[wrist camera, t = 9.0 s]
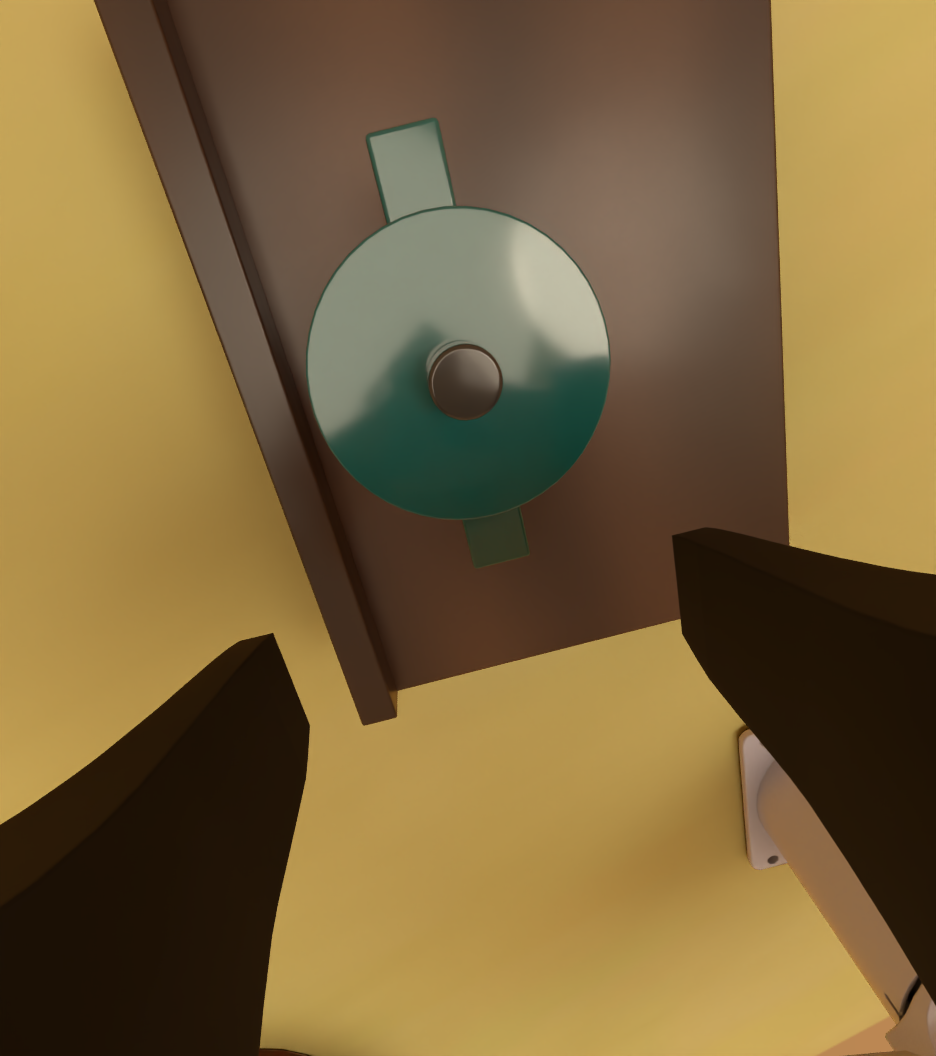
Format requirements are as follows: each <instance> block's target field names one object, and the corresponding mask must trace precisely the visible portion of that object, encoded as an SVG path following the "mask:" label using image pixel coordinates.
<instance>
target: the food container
mask: <svg viewBox="0 0 936 1056" xmlns="http://www.w3.org/2000/svg"><path fill="white" fill-rule="evenodd" d="M259 1056H307V1055H303V1054H298V1053H294V1052H289V1051H285V1050H262V1049H259Z"/></svg>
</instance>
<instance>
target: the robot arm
mask: <svg viewBox="0 0 936 1056" xmlns="http://www.w3.org/2000/svg"><path fill="white" fill-rule="evenodd" d="M672 542H673V552H674V561H675V570H676V580H677V589H678V599H679V608H680V617H681V627H682V634H683V636H684V638H685V639H686V641H687V643H688V645H689V646H690V648H691V650H692V652H693V653H694V655H695V657H696V658H697V660H698V662H699V663H700V665H701V666H702V668H703V670H704V671H705V673H706V675H707V676H708V678H709V679H710V680H711V682H712V683H713V684H714V685H715V687H716V688H717V689H718V691H719V692H720V693H721V694H722V695H723V697H724V698H725V699H726V700H727V702H728V703H729V704H730V705H731V707H732V708H733V709H734V710H735V712H736V713H737V714H738V715H739V717H740V718H741V719H742V720H743V721H744V723H745V724H746V725H747V726H748V728H749V729H748V730H746V731H744V732H743V733H742V734H741V735H740V737H739V754H740V766H741V779H742V791H743V804H744V817H745V829H746V842H747V854H748V860H749V862H750V864H751V866H752V867H753V868H754V869H758V870H762V869H766V868H770V867H774V866H778V865H782V864H786V863H788V864H789V866H790V867H791V869H792V870H793V872H794V873H795V875H796V876H797V878H798V879H799V881H800V882H801V884H802V885H803V887H804V888H805V890H806V891H807V893H808V894H809V896H810V897H811V899H812V900H813V902H814V903H815V905H816V906H817V908H818V909H819V911H820V912H821V914H822V915H823V917H824V918H825V919H826V921H827V922H828V924H829V925H830V927H831V928H832V930H833V931H834V933H835V934H836V936H837V937H838V939H839V940H840V942H841V943H842V945H843V946H844V948H845V949H846V951H847V952H848V954H849V955H850V957H851V958H852V960H853V961H854V963H855V964H856V966H857V967H858V969H859V970H860V972H861V973H862V975H863V976H864V977H865V979H866V980H867V982H868V983H869V985H870V986H871V988H872V989H873V991H874V992H875V994H876V995H877V997H878V998H879V1000H880V1001H881V1003H882V1004H883V1006H884V1007H885V1009H886V1010H887V1012H888V1013H889V1015H890V1016H891V1018H892V1019H893V1021H894V1022H895V1024H896V1026H895V1027H893V1028H892V1029H891V1030H890V1031H888V1032H887V1033H886V1035H885V1038H886V1039H887V1041H888V1042H889V1044H890V1045H891V1047H892V1048H893V1050H894V1051H892V1052H881V1053H870V1054H859V1055H848V1056H936V575H934V574H927V573H920V572H912V571H906V570H900V569H894V568H888V567H883V566H878V565H873V564H868V563H863V562H858V561H853V560H848V559H843V558H838V557H834V556H830V555H825V554H821V553H816V552H812V551H808V550H804V549H800V548H796V547H792V546H788V545H784V544H780V543H776V542H772V541H768V540H764V539H761V538H757V537H753V536H749V535H745V534H741V533H736V532H732V531H727V530H722V529H717V528H709V527H704V528H700V529H696V530H692V531H688V532H684V533H680V534H675V535H672ZM309 731H310V724H309V722H308V719H307V717H306V714H305V712H304V709H303V707H302V704H301V702H300V699H299V697H298V694H297V692H296V689H295V687H294V684H293V682H292V679H291V677H290V674H289V672H288V669H287V667H286V664H285V662H284V659H283V657H282V654H281V652H280V649H279V647H278V644H277V642H276V639H275V637H274V634H273V633H271V634H267V635H263V636H259V637H255V638H250V639H246V640H242V641H239V642H237V643H236V644H234V645H233V646H231V647H230V648H228V649H227V650H226V651H224V652H223V653H222V654H221V655H219V656H218V657H217V658H216V659H214V660H213V661H212V662H211V663H210V664H209V665H207V666H206V667H205V668H204V669H203V670H202V671H200V672H199V673H198V674H197V675H196V676H195V677H193V678H192V679H191V680H190V681H189V682H188V683H187V684H185V685H184V686H183V687H182V688H181V689H180V690H179V691H177V692H176V693H175V694H174V695H173V696H172V697H170V698H169V699H168V700H167V701H166V702H165V703H164V704H162V705H161V706H160V707H159V708H158V709H157V710H155V711H154V712H153V713H152V714H151V715H149V716H148V717H147V718H146V719H145V720H143V721H142V722H141V723H140V724H138V725H137V726H136V727H135V728H133V729H132V730H131V731H130V732H129V733H127V734H126V735H125V736H124V737H122V738H121V739H120V740H119V741H117V742H116V743H115V744H114V745H113V746H111V747H110V748H109V749H108V750H106V751H105V752H104V753H103V754H101V755H100V756H99V757H98V758H96V759H95V760H94V761H92V762H91V763H90V764H88V765H87V766H86V767H84V768H83V769H82V770H80V771H79V772H78V773H76V774H75V775H73V776H72V777H71V778H69V779H68V780H67V781H65V782H64V783H62V784H61V785H59V786H58V787H57V788H55V789H54V790H52V791H51V792H49V793H48V794H47V795H45V796H44V797H42V798H41V799H39V800H38V801H37V802H35V803H34V804H32V805H31V806H29V807H28V808H26V809H25V810H23V811H22V812H20V813H19V814H17V815H15V816H14V817H12V818H11V819H9V820H7V821H6V822H4V823H2V824H1V825H0V1056H259V1047H260V1037H261V1027H262V1017H263V1007H264V998H265V990H266V982H267V973H268V965H269V957H270V949H271V941H272V934H273V928H274V923H275V917H276V912H277V906H278V901H279V897H280V892H281V888H282V884H283V879H284V875H285V870H286V866H287V862H288V857H289V853H290V848H291V844H292V839H293V835H294V831H295V826H296V822H297V817H298V813H299V808H300V803H301V799H302V794H303V789H304V785H305V780H306V772H307V761H308V748H309Z"/></svg>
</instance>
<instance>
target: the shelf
mask: <svg viewBox="0 0 936 1056" xmlns="http://www.w3.org/2000/svg"><path fill="white" fill-rule="evenodd" d="M94 2H95V5H96V7H97V10H98V13H99V16H100V18H101V21H102V24H103V26H104V29H105V32H106V34H107V37H108V40H109V43H110V45H111V48H112V51H113V53H114V56H115V59H116V61H117V64H118V67H119V69H120V72H121V75H122V78H123V80H124V83H125V86H126V88H127V91H128V94H129V96H130V99H131V102H132V105H133V107H134V110H135V113H136V115H137V118H138V121H139V123H140V126H141V129H142V132H143V134H144V137H145V140H146V142H147V145H148V148H149V150H150V153H151V156H152V158H153V161H154V164H155V167H156V169H157V172H158V175H159V177H160V180H161V183H162V185H163V188H164V191H165V194H166V196H167V199H168V202H169V204H170V207H171V210H172V212H173V215H174V218H175V221H176V223H177V226H178V229H179V231H180V234H181V237H182V239H183V242H184V245H185V248H186V250H187V253H188V256H189V258H190V261H191V264H192V266H193V269H194V272H195V274H196V277H197V280H198V283H199V285H200V288H201V291H202V293H203V296H204V299H205V301H206V304H207V307H208V310H209V312H210V315H211V318H212V320H213V323H214V326H215V328H216V331H217V334H218V337H219V339H220V342H221V345H222V347H223V350H224V353H225V355H226V358H227V361H228V363H229V366H230V369H231V372H232V374H233V377H234V380H235V382H236V385H237V388H238V390H239V393H240V396H241V399H242V401H243V404H244V407H245V409H246V412H247V415H248V417H249V420H250V423H251V426H252V428H253V431H254V434H255V436H256V439H257V442H258V444H259V447H260V450H261V452H262V455H263V458H264V461H265V463H266V466H267V469H268V471H269V474H270V477H271V479H272V482H273V485H274V488H275V490H276V493H277V496H278V498H279V501H280V504H281V506H282V509H283V512H284V515H285V517H286V520H287V523H288V525H289V528H290V531H291V533H292V536H293V539H294V541H295V544H296V547H297V550H298V552H299V555H300V558H301V560H302V563H303V566H304V568H305V571H306V574H307V577H308V579H309V582H310V585H311V587H312V590H313V593H314V595H315V598H316V601H317V604H318V606H319V609H320V612H321V614H322V617H323V620H324V622H325V625H326V628H327V630H328V633H329V636H330V639H331V641H332V644H333V647H334V649H335V652H336V655H337V657H338V660H339V663H340V666H341V668H342V671H343V674H344V676H345V679H346V682H347V684H348V687H349V690H350V693H351V695H352V698H353V701H354V703H355V706H356V709H357V711H358V714H359V717H360V720H361V722H362V724H363V725H369V724H373V723H377V722H380V721H384V720H388V719H392V718H396V717H397V694H398V690H402V689H406V688H410V687H414V686H418V685H422V684H426V683H430V682H434V681H438V680H442V679H446V678H449V677H453V676H457V675H461V674H465V673H469V672H473V671H477V670H481V669H485V668H489V667H493V666H497V665H501V664H504V663H508V662H512V661H516V660H520V659H524V658H528V657H532V656H536V655H540V654H544V653H548V652H552V651H556V650H560V649H563V648H567V647H571V646H575V645H579V644H583V643H587V642H591V641H595V640H599V639H603V638H607V637H611V636H615V635H618V634H622V633H626V632H630V631H634V630H638V629H642V628H646V627H650V626H654V625H658V624H662V623H666V622H670V621H674V620H677V619H681V617H680V608H679V599H678V589H677V580H676V570H675V561H674V552H673V542H672V535H675V534H680V533H684V532H688V531H692V530H696V529H700V528H704V527H709V528H717V529H722V530H727V531H732V532H736V533H741V534H745V535H749V536H753V537H757V538H761V539H764V540H768V541H772V542H776V543H780V544H784V545H788V546H789V523H788V493H787V464H786V434H785V405H784V376H783V346H782V317H781V287H780V258H779V229H778V199H777V170H776V140H775V111H774V82H773V52H772V23H771V0H94ZM430 117H435V118H437V119H438V121H439V124H440V128H441V133H442V138H443V143H444V147H445V152H446V157H447V161H448V166H449V171H450V176H451V180H452V185H453V190H454V194H455V199H456V204H457V206H474V207H482V208H489V209H493V210H496V211H500V212H503V213H507V214H510V215H512V216H514V217H517V218H519V219H521V220H524V221H526V222H528V223H530V224H531V225H533V226H535V227H536V228H538V229H539V230H541V231H543V232H544V233H546V234H547V235H548V236H550V237H551V238H552V239H553V240H554V241H556V242H557V243H558V244H559V245H560V246H561V247H563V248H564V249H565V251H566V252H567V253H568V254H569V255H570V256H571V257H572V258H573V259H574V261H575V262H576V263H577V264H578V265H579V267H580V268H581V270H582V271H583V273H584V274H585V276H586V277H587V279H588V280H589V282H590V284H591V286H592V288H593V290H594V292H595V294H596V296H597V298H598V300H599V303H600V306H601V309H602V312H603V315H604V318H605V321H606V326H607V331H608V336H609V342H610V356H611V366H610V382H609V387H608V393H607V399H606V402H605V406H604V409H603V412H602V416H601V419H600V421H599V423H598V425H597V428H596V430H595V432H594V434H593V437H592V438H591V440H590V442H589V443H588V445H587V447H586V448H585V450H584V452H583V453H582V454H581V456H580V457H579V458H578V460H577V461H576V462H575V464H574V465H573V466H572V467H571V469H570V470H569V471H568V472H567V473H566V474H565V475H564V476H563V477H562V478H561V479H560V480H559V481H558V482H556V483H555V484H554V485H553V486H551V487H550V488H549V489H548V490H546V491H545V492H544V493H542V494H541V495H539V496H537V497H536V498H534V499H532V500H531V501H529V502H527V503H525V504H523V505H521V510H522V515H523V520H524V524H525V529H526V534H527V539H528V543H529V548H530V555H529V556H526V557H522V558H518V559H514V560H510V561H506V562H502V563H498V564H494V565H490V566H486V567H482V568H478V569H475V568H474V566H473V563H472V559H471V555H470V551H469V547H468V543H467V540H466V536H465V532H464V528H463V524H462V520H447V519H436V518H431V517H425V516H420V515H417V514H414V513H411V512H408V511H405V510H402V509H400V508H398V507H396V506H394V505H391V504H389V503H387V502H385V501H384V500H382V499H380V498H379V497H377V496H376V495H374V494H372V493H371V492H370V491H368V490H367V489H366V488H365V487H363V486H362V485H361V484H360V483H358V482H357V481H356V480H355V479H354V478H353V477H352V476H351V475H350V474H349V473H348V472H347V471H346V470H345V468H344V467H343V466H342V465H341V464H340V462H339V461H338V460H337V458H336V457H335V456H334V454H333V453H332V452H331V450H330V448H329V447H328V445H327V443H326V441H325V439H324V438H323V436H322V434H321V432H320V429H319V427H318V424H317V422H316V419H315V417H314V414H313V411H312V407H311V403H310V399H309V395H308V389H307V381H306V346H307V339H308V332H309V328H310V324H311V321H312V317H313V313H314V310H315V308H316V305H317V303H318V301H319V298H320V296H321V294H322V291H323V289H324V288H325V286H326V284H327V283H328V281H329V279H330V278H331V276H332V274H333V273H334V271H335V270H336V269H337V267H338V266H339V265H340V264H341V262H342V261H343V260H344V259H345V257H346V256H347V255H348V254H349V253H350V252H351V251H352V250H353V249H354V248H355V247H356V246H357V245H358V244H360V243H361V242H362V241H363V240H364V239H365V238H367V237H368V236H369V235H371V234H372V233H374V232H375V231H377V230H378V229H379V228H381V227H382V226H384V225H386V220H385V216H384V212H383V208H382V204H381V200H380V196H379V192H378V188H377V185H376V181H375V177H374V173H373V169H372V165H371V161H370V157H369V153H368V149H367V145H366V141H365V138H366V135H367V134H368V133H370V132H374V131H378V130H382V129H386V128H390V127H394V126H398V125H402V124H406V123H410V122H414V121H418V120H422V119H426V118H430Z"/></svg>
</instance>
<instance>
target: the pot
mask: <svg viewBox="0 0 936 1056" xmlns="http://www.w3.org/2000/svg"><path fill="white" fill-rule="evenodd" d="M365 141H366V145H367V149H368V153H369V157H370V161H371V165H372V169H373V173H374V177H375V181H376V185H377V188H378V192H379V196H380V200H381V204H382V208H383V212H384V216H385V220H386V225H384V226H382V227H381V228H379V229H378V230H377V231H375V232H374V233H372V234H371V235H369V236H368V237H367V238H365V239H364V240H363V241H362V242H361V243H360V244H358V245H357V246H356V247H355V248H354V249H353V250H352V251H351V252H350V253H349V254H348V255H347V256H346V257H345V259H344V260H343V261H342V262H341V264H340V265H339V266H338V267H337V269H336V270H335V271H334V273H333V274H332V276H331V278H330V279H329V281H328V283H327V284H326V286H325V288H324V289H323V291H322V294H321V296H320V298H319V301H318V303H317V305H316V308H315V310H314V313H313V317H312V321H311V324H310V328H309V332H308V339H307V346H306V381H307V389H308V395H309V399H310V403H311V407H312V411H313V414H314V417H315V419H316V422H317V424H318V427H319V429H320V432H321V434H322V436H323V438H324V439H325V441H326V443H327V445H328V447H329V448H330V450H331V452H332V453H333V454H334V456H335V457H336V458H337V460H338V461H339V462H340V464H341V465H342V466H343V467H344V468H345V470H346V471H347V472H348V473H349V474H350V475H351V476H352V477H353V478H354V479H355V480H356V481H357V482H358V483H360V484H361V485H362V486H363V487H365V488H366V489H367V490H368V491H370V492H371V493H372V494H374V495H376V496H377V497H379V498H380V499H382V500H384V501H385V502H387V503H389V504H391V505H394V506H396V507H398V508H400V509H402V510H405V511H408V512H411V513H414V514H417V515H420V516H425V517H431V518H436V519H447V520H462V524H463V528H464V532H465V536H466V540H467V543H468V547H469V551H470V555H471V559H472V563H473V566H474V568H475V569H478V568H482V567H486V566H490V565H494V564H498V563H502V562H506V561H510V560H514V559H518V558H522V557H526V556H529V555H530V548H529V543H528V539H527V534H526V529H525V524H524V520H523V515H522V510H521V505H523V504H525V503H527V502H529V501H531V500H532V499H534V498H536V497H537V496H539V495H541V494H542V493H544V492H545V491H546V490H548V489H549V488H550V487H551V486H553V485H554V484H555V483H556V482H558V481H559V480H560V479H561V478H562V477H563V476H564V475H565V474H566V473H567V472H568V471H569V470H570V469H571V467H572V466H573V465H574V464H575V462H576V461H577V460H578V458H579V457H580V456H581V454H582V453H583V452H584V450H585V448H586V447H587V445H588V443H589V442H590V440H591V438H592V437H593V434H594V432H595V430H596V428H597V425H598V423H599V421H600V419H601V416H602V412H603V409H604V406H605V402H606V399H607V393H608V387H609V382H610V366H611V356H610V342H609V336H608V331H607V326H606V321H605V318H604V315H603V312H602V309H601V306H600V303H599V300H598V298H597V296H596V294H595V292H594V290H593V288H592V286H591V284H590V282H589V280H588V279H587V277H586V276H585V274H584V273H583V271H582V270H581V268H580V267H579V265H578V264H577V263H576V262H575V261H574V259H573V258H572V257H571V256H570V255H569V254H568V253H567V252H566V251H565V249H564V248H563V247H561V246H560V245H559V244H558V243H557V242H556V241H554V240H553V239H552V238H551V237H550V236H548V235H547V234H546V233H544V232H543V231H541V230H539V229H538V228H536V227H535V226H533V225H531V224H530V223H528V222H526V221H524V220H521V219H519V218H517V217H514V216H512V215H510V214H507V213H503V212H500V211H496V210H493V209H489V208H482V207H474V206H457V204H456V199H455V194H454V190H453V185H452V180H451V176H450V171H449V166H448V161H447V157H446V152H445V147H444V143H443V138H442V133H441V128H440V124H439V121H438V119H437V118H435V117H430V118H426V119H422V120H418V121H414V122H410V123H406V124H402V125H398V126H394V127H390V128H386V129H382V130H378V131H374V132H370V133H368V134H367V135H366V138H365Z"/></svg>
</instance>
